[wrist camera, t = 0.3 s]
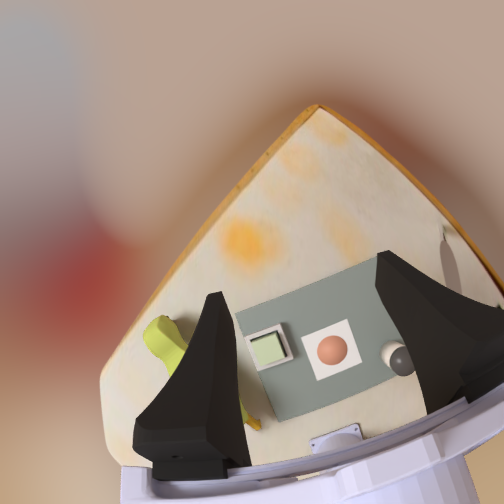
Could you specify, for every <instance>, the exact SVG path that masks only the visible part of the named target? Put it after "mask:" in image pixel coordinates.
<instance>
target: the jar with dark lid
mask: <svg viewBox="0 0 504 504" xmlns="http://www.w3.org/2000/svg"><path fill="white" fill-rule="evenodd" d="M379 357H380V359H381V361H382V362H383V363H385V364H386V365H387V366H388V367H390V368H391V369H392V371H394V372H395V373H396V374H397V375H399V376H408V375H410V374H412V373H413V372H414V371H415V368H414V365H413V362H412V360H411V357H410V355H409V352H408V350H407V347H406V346H405V345H402V344H400V343H398V342H396V341H393V340H390V341H387V342H385V343H384V344H383V345H382V346H381V348H380V351H379Z"/></svg>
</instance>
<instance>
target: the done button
mask: <svg viewBox="0 0 504 504" xmlns="http://www.w3.org/2000/svg"><path fill="white" fill-rule="evenodd" d="M251 344H252V347H253V349H254V352H255V354H256V357H257V359H258V362H259V364H260V366H263V365H266V364H269V363H272V362H274V361H277V360H280V359H283V358H285V352H284V350H283V347H282V345H281V342H280V339H279V337H278V334H277V332H274V333H271V334H268V335H265V336H263V337H260V338H257V339H254V340H253V341H252V342H251Z"/></svg>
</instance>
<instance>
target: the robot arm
mask: <svg viewBox="0 0 504 504" xmlns="http://www.w3.org/2000/svg"><path fill="white" fill-rule="evenodd" d="M375 287H376V290H377V292H378V295H379V297H380V299H381V301H382V304H383V305H384V307H385V309H386V311H387V312H388V314H389V316H390V318H391V319H392V321H393V323H394V325H395V326H396V328H397V330H398V332H399V333H400V335H401V337H402V339H403V341H404V343H405V345H406V347H407V350H408V352H409V355H410V357H411V360H412V362H413V365H414V368H415V371H416V374H417V377H418V380H419V383H420V387H421V390H422V394H423V398H424V402H425V406H426V411H427V416H425V417H422V418H420V419H418V420H416V421H413V422H411V423H408V424H406V425H404V426H401V427H399V428H396V429H394V430H391V431H388V432H386V433H383V434H380V435H378V436H375V437H372V438H369V439H366V440H363V438H362V435H361V432H360V429H359V426H358V424H357V423H355V424H352V425H350V426H347V427H345V428H342V429H339V430H337V431H334V432H331V433H329V434H326V435H323V436H320V437H317V438H314V439H311V440H310V441H309V445H310V447H311V449H312V452H313V454H314V455H309V456H305V457H301V458H296V459H291V460H286V461H281V462H275V463H269V464H263V465H257V466H252V464H251V459H250V455H249V450H248V445H247V440H246V435H245V430H244V424H243V418H242V412H241V406H240V400H239V393H238V380H237V350H236V337H235V330H234V324H233V320H232V317H231V314H230V312H229V309H228V307H227V304H226V301H225V299H224V296H223V294H222V291H220V292H216V293H211V294H208V295H207V297H206V301H205V304H204V307H203V310H202V313H201V316H200V319H199V321H198V324H197V326H196V329H195V332H194V334H193V336H192V338H191V341H190V343H189V345H188V347H187V349H186V351H185V353H184V355H183V357H182V359H181V361H180V363H179V364H178V366H177V368H176V369H175V371H174V372H173V374H172V376H171V377H170V379H169V380H168V382H167V383H166V384H165V386H164V387H163V388H162V390H161V391H160V392H159V394H158V395H157V396H156V397H155V399H154V400H153V401H152V402H151V403H150V405H149V406H148V407H147V408H146V409H145V410H144V411H143V412H142V413H141V414H140V415H139V416H138V417H137V418H136V421H135V426H134V432H133V446H132V448H133V450H134V451H135V452H136V453H138V454H139V455H141V456H143V457H144V458H146V459H148V460H150V461H152V462H153V468H149V467H138V466H122V471H121V497H120V499H121V500H120V504H480V502H479V499H478V496H477V492H476V489H475V486H474V483H473V480H472V478H471V475H470V472H469V469H468V466H467V464H466V461H465V458H464V455H466V454H468V453H469V452H471V451H473V450H474V449H476V448H477V447H479V446H481V445H482V444H484V443H485V442H487V441H488V440H490V439H491V438H492V437H494V436H495V435H497V434H498V433H500V432H501V431H502V430H504V310H503V309H499V308H495V307H491V306H488V305H485V304H482V303H480V302H477V301H474V300H472V299H470V298H467V297H465V296H463V295H460V294H458V293H456V292H454V291H452V290H450V289H448V288H447V287H445V286H443V285H441V284H440V283H438V282H436V281H435V280H433V279H431V278H430V277H428V276H427V275H425V274H423V273H422V272H420V271H419V270H417V269H416V268H414V267H413V266H412V265H410V264H409V263H407V262H406V261H404V260H403V259H401V258H400V257H398V256H397V255H396V254H394V253H393V252H391V251H389V250H388V251H384V252H380V253H377V266H376V278H375ZM355 428H357V429H356V430H355ZM312 444H315V445H312ZM319 471H320V475H317V476H314V477H310V478H306V479H303V480H299V481H298V478H296V476H301V475H306V474H310V473H314V472H319ZM291 477H293V478H291Z"/></svg>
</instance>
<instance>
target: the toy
mask: <svg viewBox="0 0 504 504" xmlns="http://www.w3.org/2000/svg"><path fill="white" fill-rule="evenodd" d="M143 339H144V342H145V344H146V346H147V347H148V349H149V350H150V351H151V353H152V354H154V355H155V356H156V357H158V358H160V359H161V360H162V361H163V362H164V364H165V366H166V368H167V370H168V373H169V376H170V377H171V376H172V374H173V372H174V371H175V369H176V368H177V366H178V364H179V363H180V361H181V359H182V357H183V355H184V353H185V351H186V349H187V347H188V345H187V344H186V343H185V342H184V340H183V339H182V337H181V335H180V333H179V330H178V328H177V326H176V324H175V323H174V322H173V321H172V320H171V319H169V317H168V316H164V315H161V316H159V317H157V318H155V319H154V320H153V321H152V322H151V323H150V324H149V325H148V327H147V328H146V329H145V331H144V333H143ZM239 400H240V406H241V412H242V418H243V424H245V423H247V424H248V425H250V426H251V427H252V428H254V429H255V430H259V429H260V428H261V422H260V419H259V420H258V421H257V420H256V419H254V418H253V417H252V416H251V415H249V414H248V413H247V412H246V410H245V409H244V407H243V405H242V402H241V399H240V396H239ZM245 435H246V434H245Z"/></svg>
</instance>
